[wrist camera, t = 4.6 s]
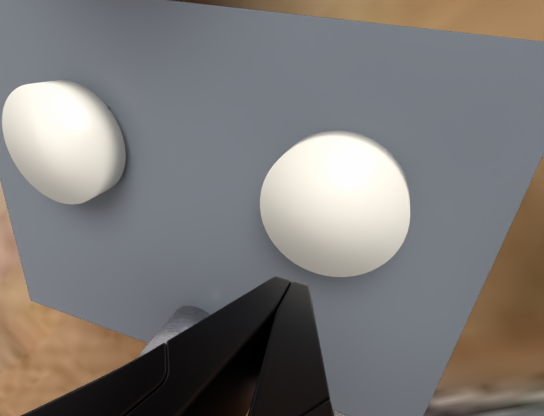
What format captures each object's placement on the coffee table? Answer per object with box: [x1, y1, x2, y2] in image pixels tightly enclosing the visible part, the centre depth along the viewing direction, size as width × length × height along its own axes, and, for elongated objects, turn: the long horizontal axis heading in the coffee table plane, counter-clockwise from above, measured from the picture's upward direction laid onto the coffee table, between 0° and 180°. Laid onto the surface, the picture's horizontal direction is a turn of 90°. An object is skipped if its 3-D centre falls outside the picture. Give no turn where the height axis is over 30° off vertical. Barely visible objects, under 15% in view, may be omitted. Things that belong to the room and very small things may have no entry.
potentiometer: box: [139, 306, 210, 357], centre depth 18 cm, size 3×3×5 cm
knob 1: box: [2, 80, 126, 205], centre depth 17 cm, size 5×5×4 cm
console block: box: [0, 0, 544, 416], centre depth 19 cm, size 24×18×5 cm
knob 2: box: [260, 130, 410, 277], centre depth 15 cm, size 5×5×4 cm
